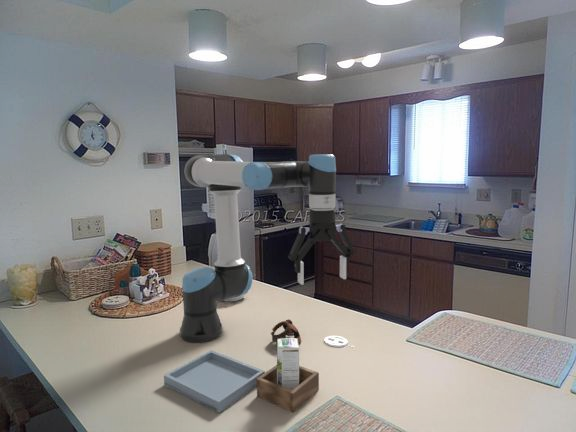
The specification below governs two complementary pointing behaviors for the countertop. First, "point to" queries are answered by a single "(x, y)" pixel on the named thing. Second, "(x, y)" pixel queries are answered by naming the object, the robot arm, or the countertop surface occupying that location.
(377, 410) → the countertop surface
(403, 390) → the countertop surface
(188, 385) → the grey tray
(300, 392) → the wooden cube shelf
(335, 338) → the pendant
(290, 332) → the brown curved piece
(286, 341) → the syrup box
